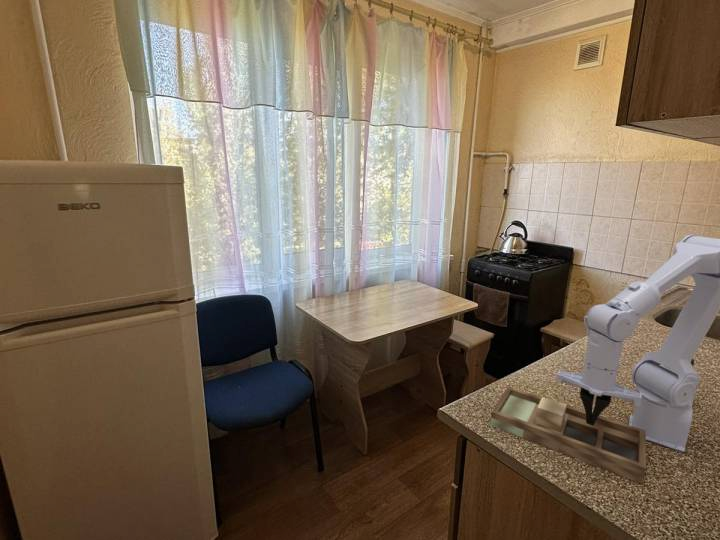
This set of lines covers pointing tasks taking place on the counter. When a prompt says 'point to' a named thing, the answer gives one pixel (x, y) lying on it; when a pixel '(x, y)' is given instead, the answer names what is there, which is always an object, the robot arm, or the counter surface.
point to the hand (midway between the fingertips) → (590, 422)
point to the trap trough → (576, 435)
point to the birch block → (550, 414)
